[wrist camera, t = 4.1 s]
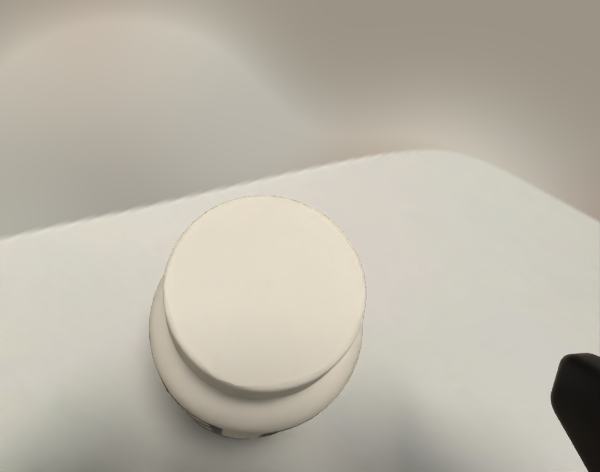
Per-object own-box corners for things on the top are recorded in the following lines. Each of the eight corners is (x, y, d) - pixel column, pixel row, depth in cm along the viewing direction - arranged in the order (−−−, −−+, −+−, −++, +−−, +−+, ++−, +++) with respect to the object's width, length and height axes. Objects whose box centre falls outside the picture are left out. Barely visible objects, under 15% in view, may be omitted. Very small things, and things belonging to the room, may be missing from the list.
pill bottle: (322, 296, 19) (401, 184, 11) (316, 444, 17) (408, 440, 9) (182, 281, 18) (156, 150, 10) (157, 432, 16) (99, 417, 8)
